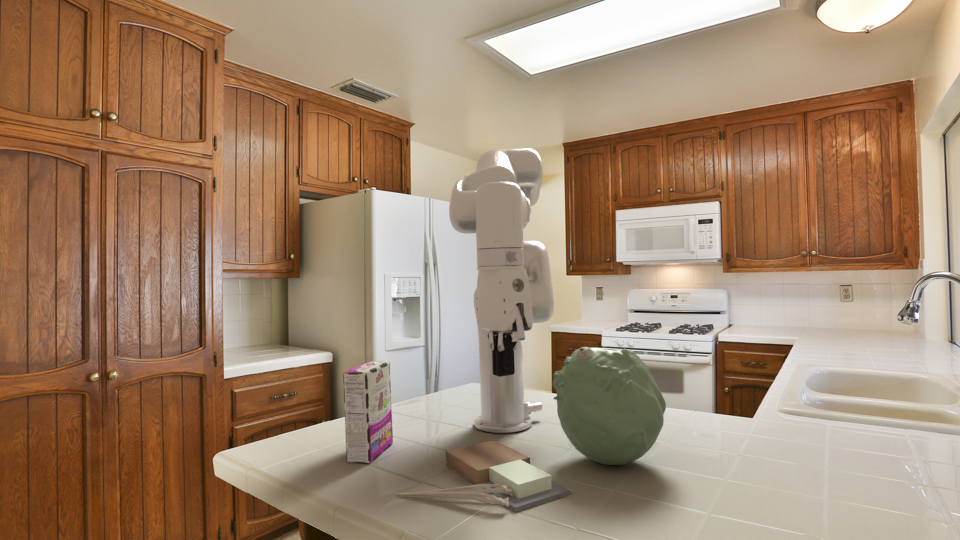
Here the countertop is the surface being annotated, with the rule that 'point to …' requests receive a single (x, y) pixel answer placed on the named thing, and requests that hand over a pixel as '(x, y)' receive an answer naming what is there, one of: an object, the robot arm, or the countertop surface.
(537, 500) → the mat
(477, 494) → the tweezers
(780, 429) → the countertop surface
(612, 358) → the cabbage
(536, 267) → the robot arm
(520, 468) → the pale green sponge block
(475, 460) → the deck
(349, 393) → the candy bar box
